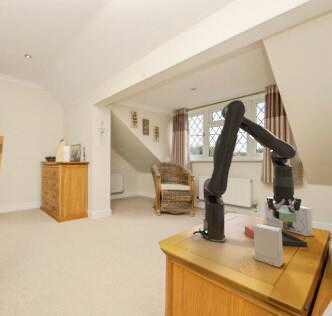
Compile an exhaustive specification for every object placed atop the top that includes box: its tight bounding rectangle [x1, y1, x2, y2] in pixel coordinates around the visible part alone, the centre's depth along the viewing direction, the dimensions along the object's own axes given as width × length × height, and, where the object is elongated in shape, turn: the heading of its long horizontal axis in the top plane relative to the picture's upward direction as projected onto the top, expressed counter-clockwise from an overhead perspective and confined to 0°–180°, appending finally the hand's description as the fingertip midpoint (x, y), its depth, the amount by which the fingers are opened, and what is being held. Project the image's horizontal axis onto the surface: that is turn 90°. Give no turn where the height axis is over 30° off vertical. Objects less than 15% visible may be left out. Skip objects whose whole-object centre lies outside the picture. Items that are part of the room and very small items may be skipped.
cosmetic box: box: [252, 223, 284, 268], centre depth 82 cm, size 8×6×15 cm
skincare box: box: [264, 200, 313, 237], centre depth 119 cm, size 21×5×16 cm, turn 17°
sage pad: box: [272, 210, 296, 222], centre depth 97 cm, size 6×8×4 cm
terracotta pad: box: [244, 225, 254, 239], centre depth 110 cm, size 6×8×4 cm
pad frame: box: [282, 230, 308, 248], centre depth 106 cm, size 12×19×2 cm, turn 170°
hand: (283, 218), depth 97 cm, fingers closed on sage pad, 5 cm apart
